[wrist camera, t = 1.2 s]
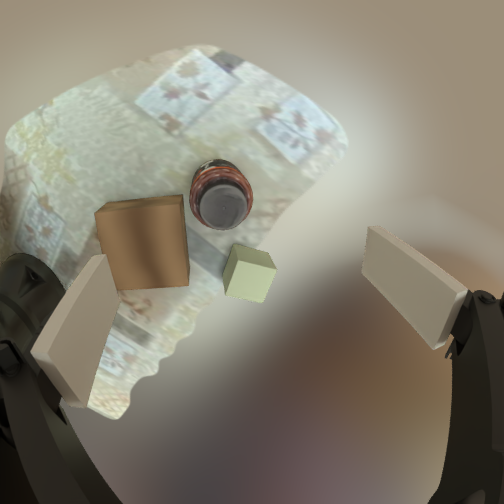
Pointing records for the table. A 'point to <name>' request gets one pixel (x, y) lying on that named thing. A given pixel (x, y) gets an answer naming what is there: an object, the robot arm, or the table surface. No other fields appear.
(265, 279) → the sage block
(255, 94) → the table surface
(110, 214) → the walnut block
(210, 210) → the supplement bottle
